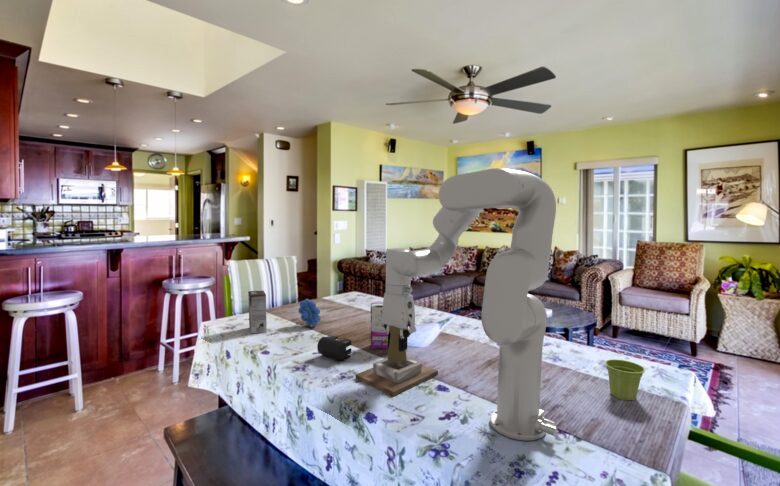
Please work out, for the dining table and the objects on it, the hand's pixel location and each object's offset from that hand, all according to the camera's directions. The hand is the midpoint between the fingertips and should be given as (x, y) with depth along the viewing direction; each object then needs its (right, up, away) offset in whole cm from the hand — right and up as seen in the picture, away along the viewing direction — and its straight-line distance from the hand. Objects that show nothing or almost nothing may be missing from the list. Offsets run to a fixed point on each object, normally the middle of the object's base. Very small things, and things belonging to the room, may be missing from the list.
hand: (397, 347), depth 117 cm
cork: (0, -4, 0) cm, 3 cm away
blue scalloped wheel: (-38, -5, +51) cm, 64 cm away
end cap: (-21, -8, +16) cm, 28 cm away
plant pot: (+62, -11, -11) cm, 64 cm away
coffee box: (-59, -5, +46) cm, 75 cm away
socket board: (0, -9, +1) cm, 9 cm away
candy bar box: (-4, -7, +27) cm, 28 cm away
